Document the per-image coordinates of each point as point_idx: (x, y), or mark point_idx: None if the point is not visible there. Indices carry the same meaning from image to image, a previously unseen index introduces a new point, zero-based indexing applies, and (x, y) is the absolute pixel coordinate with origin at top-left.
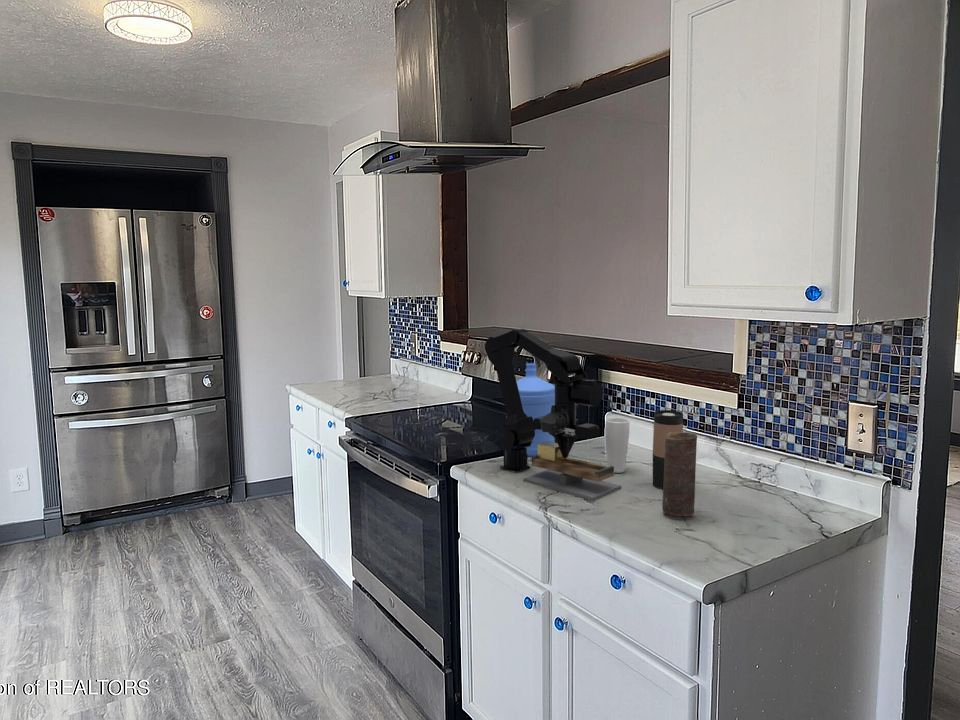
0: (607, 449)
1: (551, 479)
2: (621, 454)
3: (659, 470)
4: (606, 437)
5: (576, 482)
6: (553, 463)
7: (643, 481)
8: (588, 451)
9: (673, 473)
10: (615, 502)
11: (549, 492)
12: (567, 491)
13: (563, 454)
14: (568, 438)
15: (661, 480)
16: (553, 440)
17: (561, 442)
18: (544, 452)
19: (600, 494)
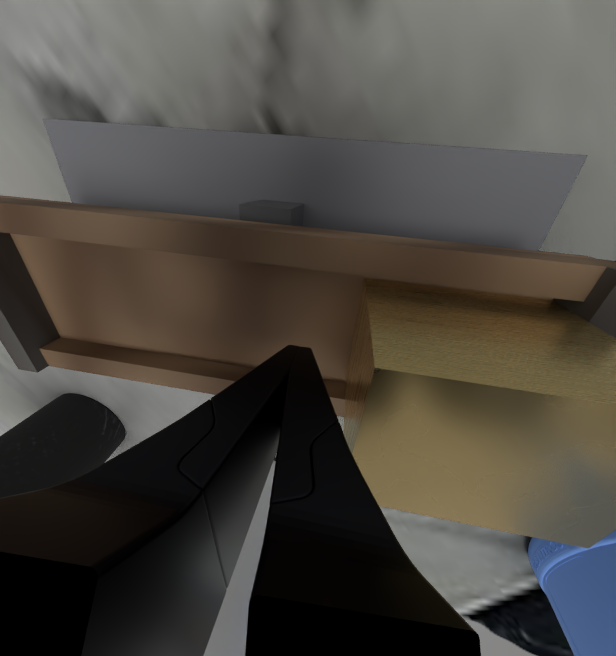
0: (245, 542)
1: None
2: None
3: (15, 440)
4: (228, 618)
5: None
6: (357, 248)
7: (147, 424)
8: (416, 561)
9: None
10: (6, 181)
11: (303, 64)
12: (207, 131)
13: (293, 359)
14: (4, 557)
15: (45, 412)
16: (555, 602)
17: (274, 471)
18: (525, 340)
19: (71, 199)
